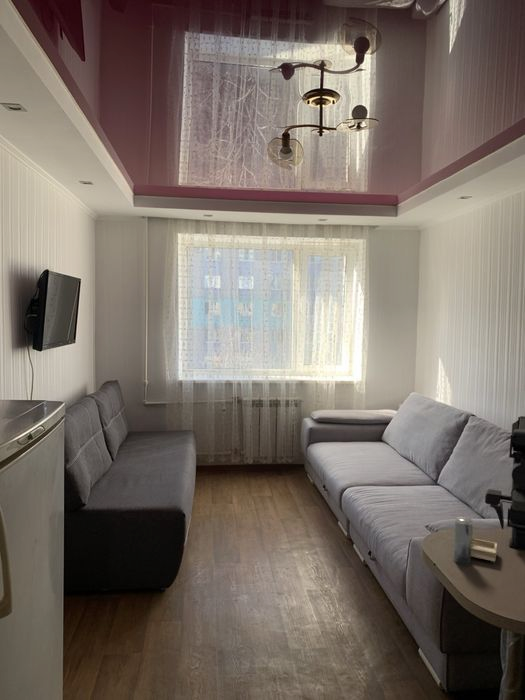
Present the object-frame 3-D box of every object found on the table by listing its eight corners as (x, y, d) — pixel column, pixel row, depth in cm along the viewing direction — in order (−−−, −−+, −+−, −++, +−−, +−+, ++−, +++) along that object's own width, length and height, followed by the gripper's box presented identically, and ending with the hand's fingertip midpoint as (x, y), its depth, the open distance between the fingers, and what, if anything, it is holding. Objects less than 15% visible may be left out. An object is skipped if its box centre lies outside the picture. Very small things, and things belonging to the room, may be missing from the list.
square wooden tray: (469, 548, 168) (469, 537, 168) (496, 553, 165) (497, 543, 164) (466, 558, 161) (467, 547, 161) (494, 564, 157) (495, 553, 157)
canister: (454, 556, 162) (456, 515, 161) (471, 560, 160) (473, 518, 159) (452, 562, 158) (454, 520, 157) (469, 566, 155) (471, 523, 155)
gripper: (484, 479, 141) (482, 535, 142) (564, 490, 133) (560, 550, 134) (488, 469, 151) (485, 521, 152) (562, 479, 143) (559, 535, 144)
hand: (520, 532), depth 145 cm, fingers open, 9 cm apart
